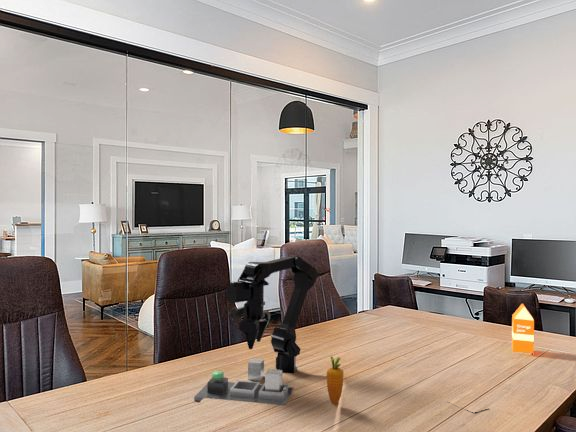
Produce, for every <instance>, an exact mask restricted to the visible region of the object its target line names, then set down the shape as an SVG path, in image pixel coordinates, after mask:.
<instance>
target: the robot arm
mask: <svg viewBox="0 0 576 432" xmlns="http://www.w3.org/2000/svg"><path fill="white" fill-rule="evenodd" d="M284 270H285V271H286V270H290V272H291V273H292V274H293V283H294V284H293V286H294V288H293V291H292V293H291V297H290V299H289V302H288V305H287V308H286V311H285V315H284V317H283V320H282V323H281V324H280V325H279V326H274V328H273V331H272V334H271V336H270V338H271V339H270V344H271V346H272V349H273V352H274V353H277V356H276V358H275V370H282V374H295V373H296V370H297V366H296V365H297V364H296V363H297V356H299V355H300V353H301V350H302V349H301V348H300V346H299V345H298V344H297V342H296V340H297V334H296V333H297V332H296V326H297V324H298V321H299V317H300V314H301V311H302V309H303V307H304V306H303V305H304V303H305V299H306V297H307V293H308V291H309V290H311V288H313V286H314V285H315V283H316V281H317V279H318V275H319V274H318V270H317V269H316V268H315V267H314V266H312V265H311V264H310V263H308V262H306V261H305V260H304V259H303V258H302V257H300V256H299V255H288V256H285V257H281V258H277V259H273V260H268V261H249V262H246V263H245V266H244V268H243V271H242V272H241V273H240V276H239V277H238V280H237V281H230V282H229V286H228V287H227V289H226V292H225V298H226V299H227V301H228V303H230V304H236V303H242V302H244V304H243V306H241V307H236V306H235V307H234V308H230V311H229V316H228V317H229V318H231V321H236V320H238V319H241V320H240V321H239V322H238V323H237V330H238V331H239V332H240V333H241V332H242V333H243V335H244V337H245V339H246V343H247V347H248V350H253V348H254V346H255V343H256V342H257V343H260V342H261V340H262V339H263V337H264V333H265V331H266V329H267V326H268V325H269V322H270V320H271V312H270V311H269V310H264V306H265V305H266V301H264V294H265V293H264V289H265V288H264V287H265V286H269V285H270V284H269V281H267V280H266V279H268V278H269V277H270V276H271V274H274V273H277V272H281V271H284ZM242 318H243V319H242Z"/></svg>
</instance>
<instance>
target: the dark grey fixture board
mask: <svg viewBox="0 0 576 432" xmlns="http://www.w3.org/2000/svg"><path fill="white" fill-rule="evenodd" d="M293 390H294V387H292V386H289V384H283V383H282V392H269V391H265V382H264V383H263V384H261V381H251V380H236V381H235V382H230V381H229V378H228V377H224V378H223V379H220V380H214V379H212V377H211V378H210V379H209V380H207V383H206V384H205V386H203V387H202V389H200V390H199V392H197V393H196V395H194V397H193V401H195V402H201V401H202V400H203V399H211V400H212V399H214V400H222V401H223V400H224V401H226V400H227V401H233V402H234V401H235V402H245V403H247V402H248V403H256V404H257V403H258V404H267V405H277V406H278V405H280V406H286V405H287V402H288V400H289V398H290V396H291V395H292V393H293Z"/></svg>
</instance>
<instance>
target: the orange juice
mask: <svg viewBox="0 0 576 432" xmlns="http://www.w3.org/2000/svg"><path fill="white" fill-rule="evenodd" d="M511 316H512V317H511V350H512V349H513V351H512V353H513V352H523V353H533V354H534V341H535V340H534V339H535V320H534V318H533V316H532V315H531V313H530V312H529V310H528V309H527V308H526V306H525V305H524V303H520V305H519V307H518V308H517V309H516V310H515V312H513V314H511Z"/></svg>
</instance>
